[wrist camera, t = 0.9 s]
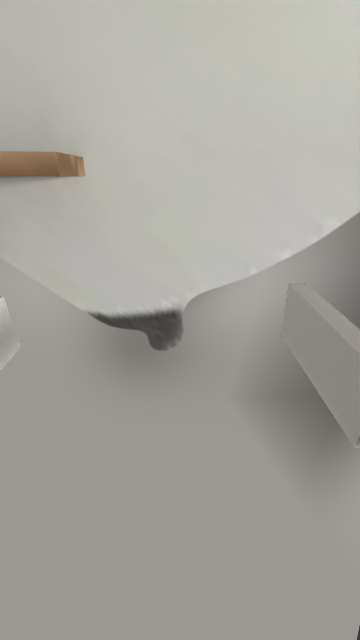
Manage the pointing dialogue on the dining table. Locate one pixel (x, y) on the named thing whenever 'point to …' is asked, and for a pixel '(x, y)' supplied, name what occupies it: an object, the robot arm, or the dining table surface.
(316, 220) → the dining table surface
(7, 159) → the rack
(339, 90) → the dining table surface
